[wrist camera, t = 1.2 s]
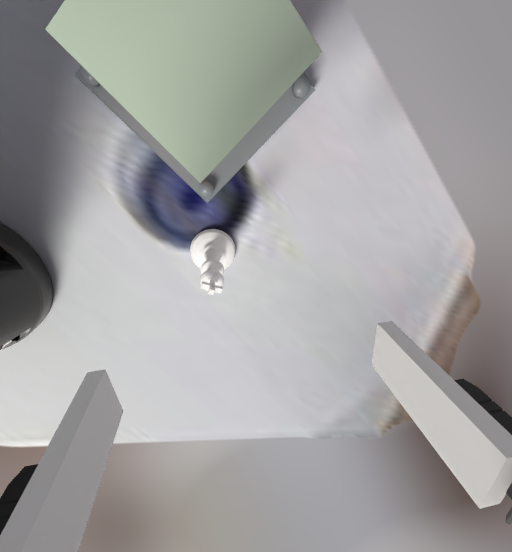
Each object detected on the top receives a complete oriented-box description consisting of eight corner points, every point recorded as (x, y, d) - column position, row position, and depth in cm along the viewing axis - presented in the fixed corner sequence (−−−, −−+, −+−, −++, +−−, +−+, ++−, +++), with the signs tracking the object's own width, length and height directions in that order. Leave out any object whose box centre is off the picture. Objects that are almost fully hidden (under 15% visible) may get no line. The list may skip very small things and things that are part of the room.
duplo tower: (207, 200, 28) (202, 227, 18) (82, 78, 23) (-20, 24, 13) (311, 92, 25) (370, 55, 15) (195, -77, 20) (174, -296, 10)
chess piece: (197, 222, 29) (189, 254, 20) (241, 237, 30) (251, 274, 21) (185, 263, 31) (171, 310, 22) (226, 275, 32) (230, 324, 23)
